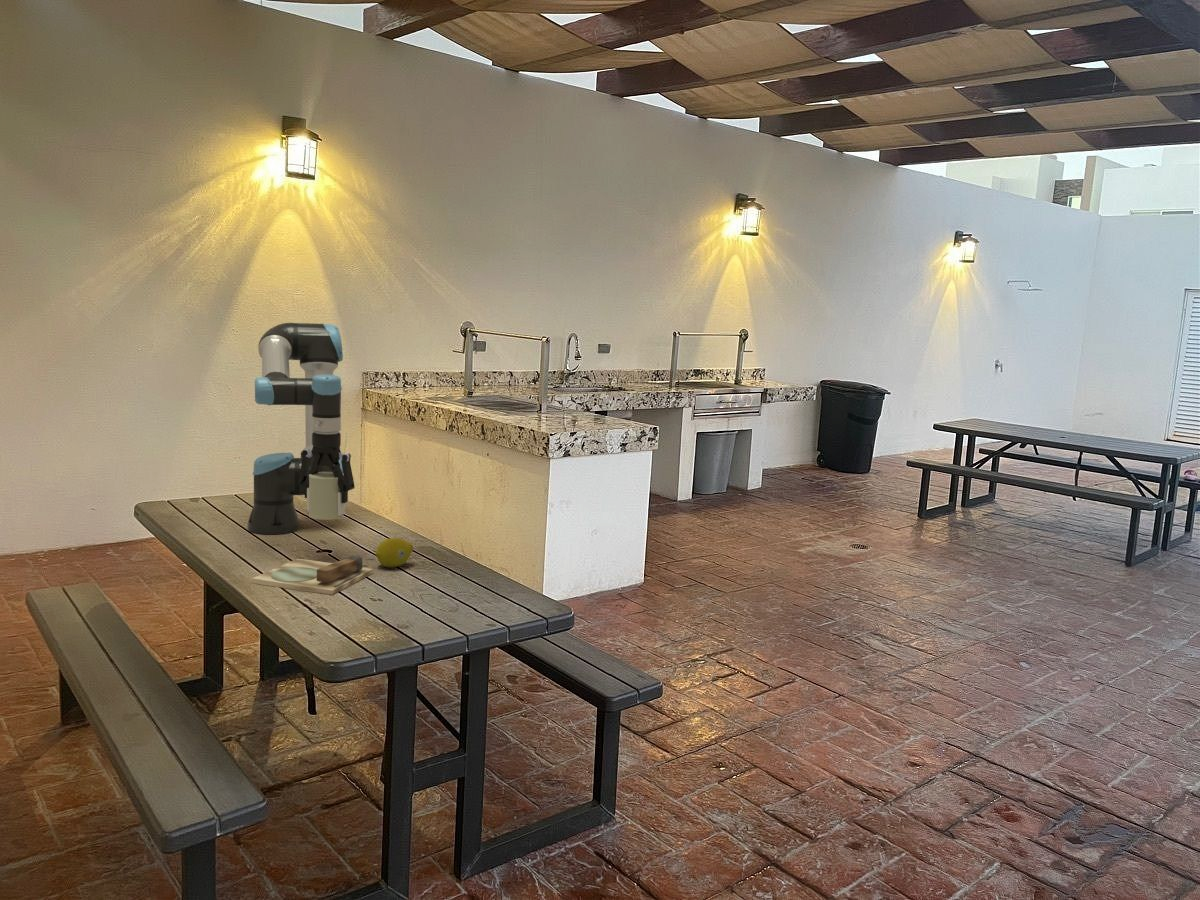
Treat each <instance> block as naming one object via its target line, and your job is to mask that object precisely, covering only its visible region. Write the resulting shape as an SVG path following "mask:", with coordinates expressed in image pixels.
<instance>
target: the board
mask: <svg viewBox="0 0 1200 900" xmlns="http://www.w3.org/2000/svg"><path fill="white" fill-rule="evenodd" d="M333 563H334V562H325V561H318V560H311V559H304V558H296V559H292V560H290V561H289V562H286V563H284V564H281V565H280V566H277V567H275V568H273V569H270V570H268V571H265V572H263V573H262V574H259V575H257V576H254V577H251V583H252V584H256V585H263V586H269V587H276V588H283V589H284V588H285V589H288V590H296V591H302V592H309V593H315V594H323V595H329V596H333V595H335V594H337V593H339V592H341V591H342V589H343V590H344V588H345V589H346V587H347V588H348V587H351V586H352V585H354V584H356V583H358V582H359V581H362V580H363V579H365V578H366V577H369V576H370V575H373V574H374V569H373V568H367V567H362V569H361V570H358V571H355V572H353V573H350V574H348V575H345V576H343V577H340V578H338V579H335V580H333V581H330V582H328V583H324V582H319V581H317V569H319V568H322V567H325V566H327V565H330V564H333ZM357 581H358V582H357Z"/></svg>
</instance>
